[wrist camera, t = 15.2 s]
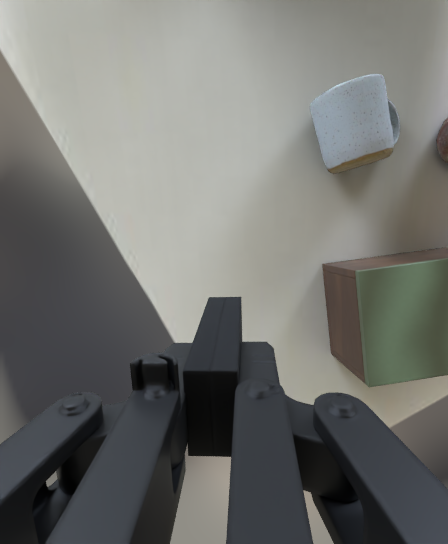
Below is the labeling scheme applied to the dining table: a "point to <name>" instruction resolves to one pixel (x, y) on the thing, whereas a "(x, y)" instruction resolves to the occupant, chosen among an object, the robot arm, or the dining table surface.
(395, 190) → the dining table surface
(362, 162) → the ceramic mug
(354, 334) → the chest
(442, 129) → the candle
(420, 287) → the lid
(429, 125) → the dining table surface
